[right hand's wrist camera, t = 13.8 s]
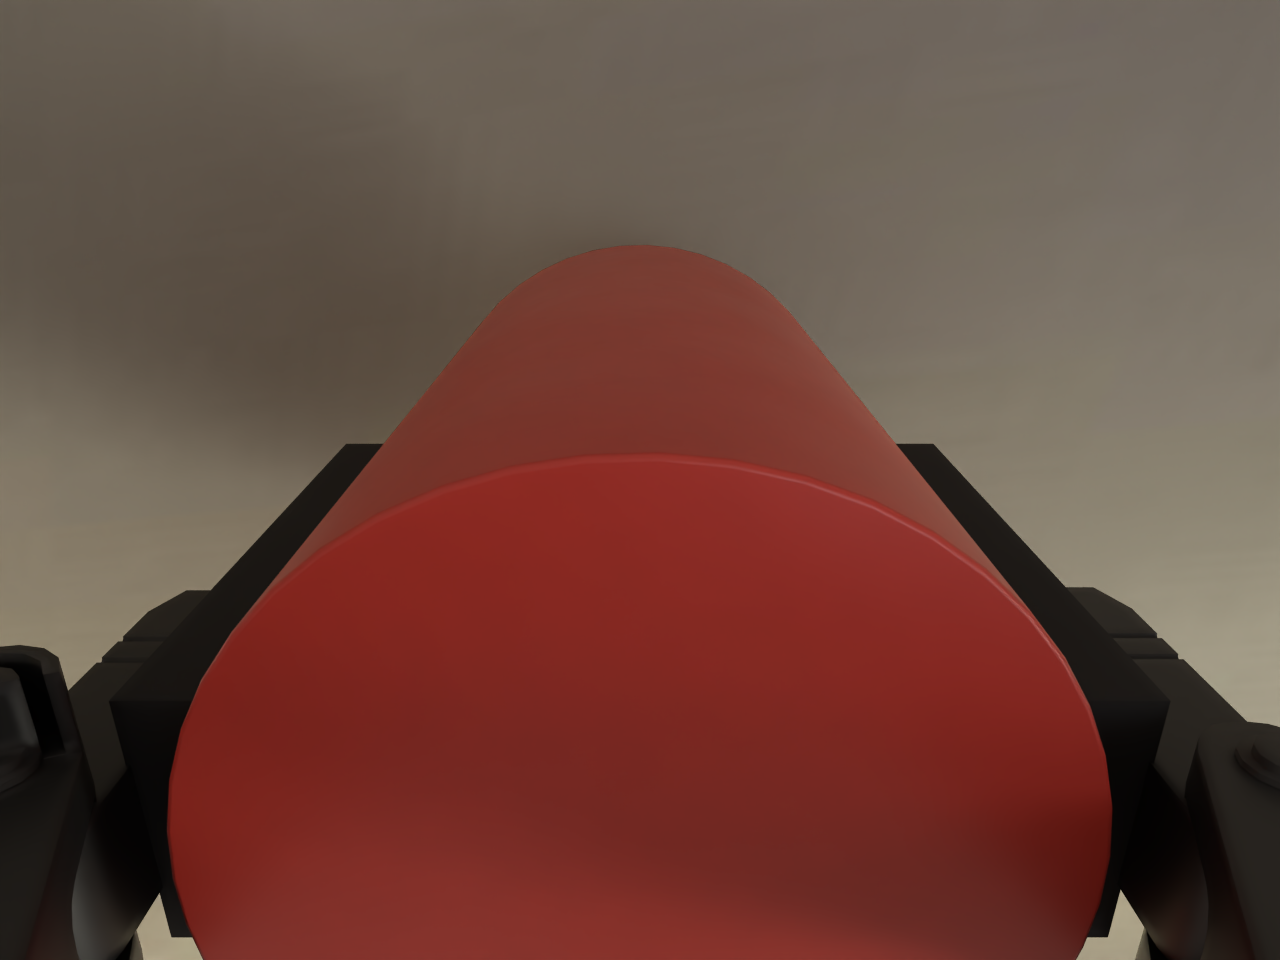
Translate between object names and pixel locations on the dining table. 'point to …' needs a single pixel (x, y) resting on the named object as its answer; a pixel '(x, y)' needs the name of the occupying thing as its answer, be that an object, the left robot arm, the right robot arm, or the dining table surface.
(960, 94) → the dining table surface
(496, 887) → the canister
